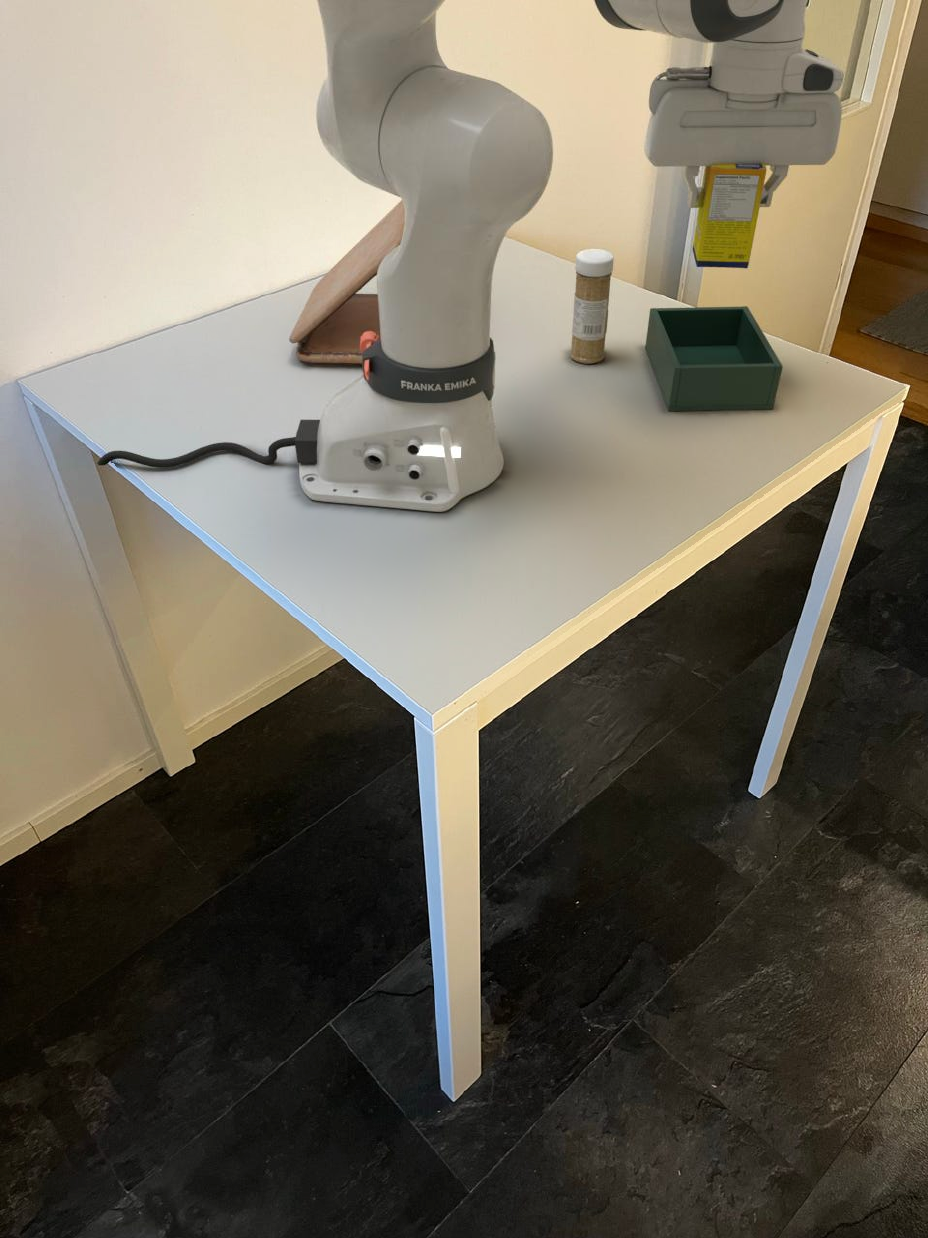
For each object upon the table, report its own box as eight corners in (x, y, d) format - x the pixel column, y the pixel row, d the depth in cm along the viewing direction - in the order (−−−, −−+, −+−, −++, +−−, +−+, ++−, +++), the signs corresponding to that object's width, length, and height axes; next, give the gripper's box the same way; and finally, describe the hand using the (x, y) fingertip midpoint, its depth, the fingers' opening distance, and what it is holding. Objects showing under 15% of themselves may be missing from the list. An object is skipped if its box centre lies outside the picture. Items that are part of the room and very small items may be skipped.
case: (318, 301, 139) (305, 185, 129) (462, 304, 138) (460, 188, 127) (286, 366, 124) (268, 241, 113) (448, 371, 123) (445, 245, 112)
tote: (668, 411, 115) (674, 368, 111) (645, 348, 127) (650, 307, 123) (773, 409, 115) (782, 365, 111) (739, 346, 127) (747, 305, 123)
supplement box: (741, 250, 114) (760, 151, 106) (748, 269, 109) (768, 167, 102) (691, 248, 114) (706, 149, 107) (695, 267, 109) (711, 166, 102)
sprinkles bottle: (606, 350, 126) (616, 248, 118) (601, 366, 123) (611, 262, 114) (572, 347, 127) (579, 245, 118) (566, 363, 124) (573, 259, 115)
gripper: (658, 74, 96) (641, 216, 105) (860, 72, 96) (826, 214, 105) (647, 60, 101) (632, 197, 110) (839, 58, 101) (808, 195, 110)
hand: (728, 205), depth 108 cm, fingers closed on supplement box, 6 cm apart
